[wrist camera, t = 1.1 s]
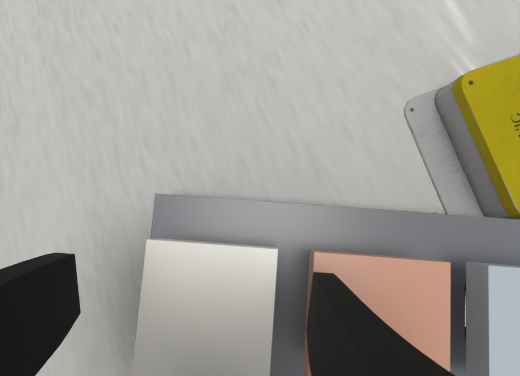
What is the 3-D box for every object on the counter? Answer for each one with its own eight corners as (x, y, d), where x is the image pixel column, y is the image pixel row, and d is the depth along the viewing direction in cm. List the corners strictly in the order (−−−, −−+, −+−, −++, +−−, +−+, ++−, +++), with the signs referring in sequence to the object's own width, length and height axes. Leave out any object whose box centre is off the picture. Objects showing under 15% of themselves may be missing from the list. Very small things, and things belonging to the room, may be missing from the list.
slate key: (541, 373, 17) (638, 425, 12) (432, 363, 17) (489, 411, 12) (538, 263, 17) (629, 276, 13) (433, 256, 17) (488, 265, 13)
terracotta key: (403, 361, 17) (449, 407, 13) (297, 351, 17) (307, 394, 13) (405, 253, 18) (450, 262, 13) (303, 245, 18) (314, 252, 13)
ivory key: (268, 349, 17) (268, 391, 13) (165, 340, 17) (130, 378, 13) (275, 243, 18) (277, 249, 13) (176, 236, 18) (146, 239, 14)
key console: (528, 397, 19) (577, 429, 16) (154, 363, 20) (133, 387, 17) (524, 223, 20) (569, 223, 17) (171, 198, 21) (155, 193, 18)
